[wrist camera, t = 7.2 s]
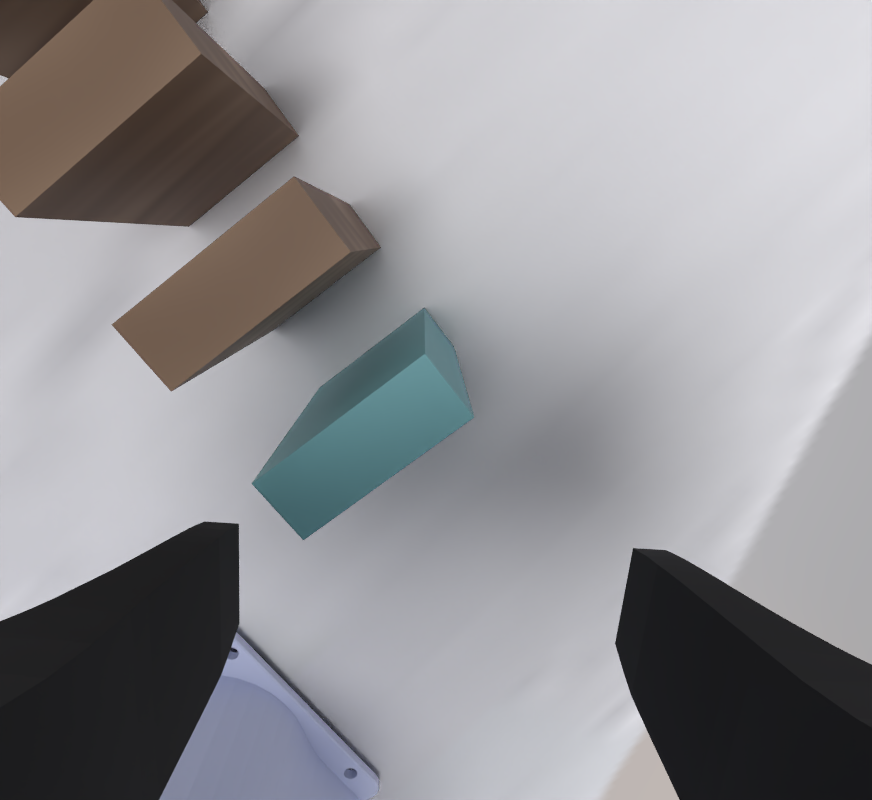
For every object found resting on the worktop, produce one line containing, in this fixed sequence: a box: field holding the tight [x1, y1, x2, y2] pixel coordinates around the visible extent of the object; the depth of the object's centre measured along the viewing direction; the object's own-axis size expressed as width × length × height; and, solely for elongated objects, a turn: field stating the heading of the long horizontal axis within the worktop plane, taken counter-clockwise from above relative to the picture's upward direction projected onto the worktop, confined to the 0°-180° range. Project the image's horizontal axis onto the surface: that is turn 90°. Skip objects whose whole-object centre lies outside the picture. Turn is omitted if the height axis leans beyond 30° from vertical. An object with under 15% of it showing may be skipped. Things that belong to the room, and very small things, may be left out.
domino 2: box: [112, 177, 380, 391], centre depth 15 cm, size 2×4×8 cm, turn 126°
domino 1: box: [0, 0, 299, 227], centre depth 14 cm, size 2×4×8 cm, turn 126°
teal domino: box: [252, 308, 474, 540], centre depth 16 cm, size 2×4×8 cm, turn 127°
